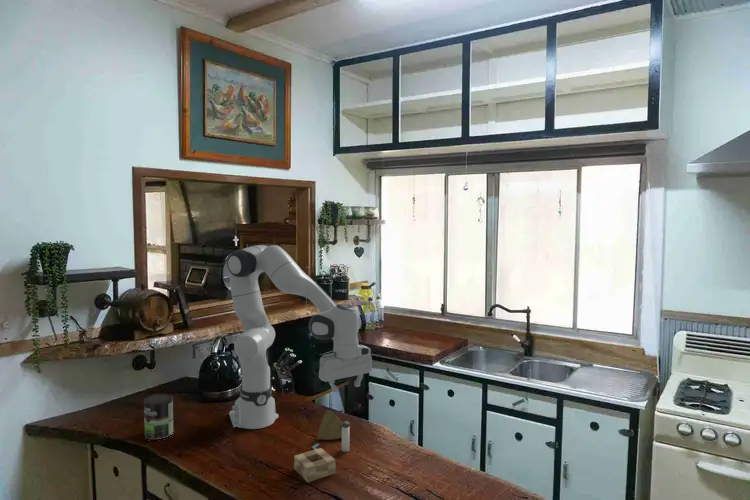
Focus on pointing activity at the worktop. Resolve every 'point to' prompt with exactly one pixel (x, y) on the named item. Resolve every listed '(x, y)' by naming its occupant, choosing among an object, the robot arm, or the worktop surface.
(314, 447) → the hex key
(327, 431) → the rock
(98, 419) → the worktop surface
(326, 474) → the wooden block with hole
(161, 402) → the coffee can
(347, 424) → the long grey cylinder
